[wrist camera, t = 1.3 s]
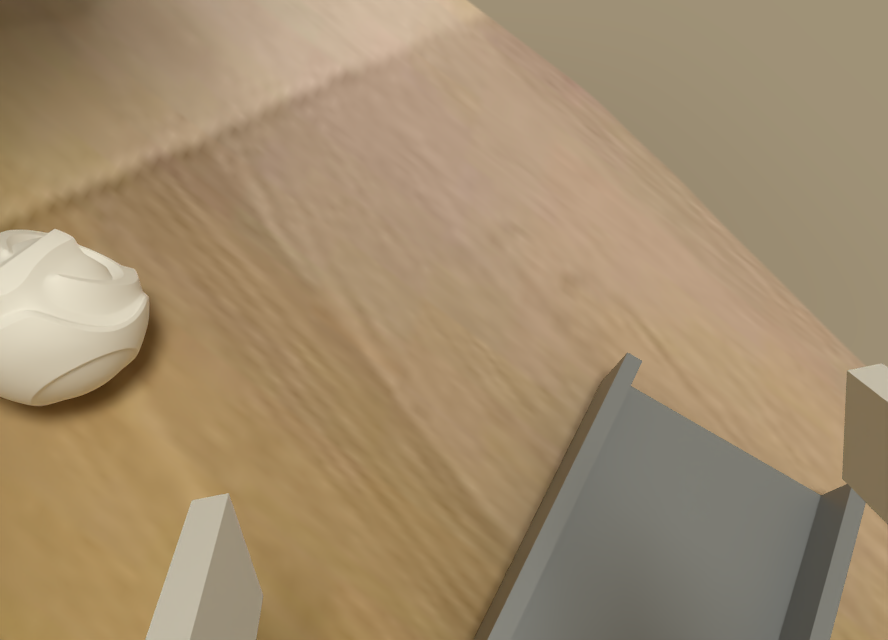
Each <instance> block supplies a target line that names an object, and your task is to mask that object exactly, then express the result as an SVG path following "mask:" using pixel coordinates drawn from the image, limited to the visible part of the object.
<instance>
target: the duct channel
mask: <svg viewBox="0 0 888 640" xmlns="http://www.w3.org/2000/svg"><path fill="white" fill-rule="evenodd" d="M641 363H642V361H641V360H640V359H638V358H636V357H634V356H633V355H631V354H629V353H627V354H626V355H625V356H624V357H623V358H622V359H621V360H620V361H619V363H618V364H617V365H616V366H615V367H614V368H613V369H612V370H611V372H610V373H609V374H608V375H607V376H606V377H605V378H604V379H603V381H602V382H601V384H600V386H599V388H598V390H597V392H596V394H595V396H594V398H593V400H592V402H591V404H590V406H589V408H588V410H587V412H586V414H585V416H584V418H583V420H582V422H581V424H580V426H579V428H578V430H577V432H576V434H575V436H574V438H573V440H572V443H571V445H570V447H569V449H568V451H567V453H566V455H565V457H564V459H563V461H562V463H561V465H560V467H559V469H558V471H557V473H556V475H555V477H554V479H553V481H552V483H551V485H550V487H549V489H548V491H547V493H546V495H545V497H544V499H543V501H542V503H541V505H540V507H539V509H538V511H537V513H536V515H535V517H534V519H533V521H532V523H531V525H530V527H529V529H528V531H527V533H526V535H525V537H524V539H523V541H522V543H521V545H520V547H519V549H518V551H517V553H516V555H515V557H514V559H513V561H512V563H511V565H510V567H509V569H508V571H507V573H506V575H505V577H504V579H503V581H502V583H501V585H500V587H499V589H498V591H497V593H496V596H495V598H494V600H493V602H492V604H491V606H490V608H489V610H488V612H487V614H486V616H485V618H484V620H483V622H482V624H481V626H480V628H479V630H478V632H477V634H476V636H475V638H474V640H830V637H831V633H832V630H833V626H834V622H835V618H836V614H837V610H838V607H839V603H840V599H841V595H842V591H843V587H844V584H845V580H846V576H847V572H848V568H849V565H850V561H851V557H852V553H853V549H854V545H855V542H856V538H857V534H858V530H859V526H860V522H861V519H862V515H863V511H864V507H865V503H866V502H865V501H864V500H863V499H862V498H861V497H860V496H859V495H858V494H857V493H856V492H855V491H854V490H853V489H852V488H851V487H850V486H849V485H848V484H846V485H844V486H842V487H839V488H837V489H835V490H833V491H830V492H828V493H826V494H823V495H819V494H817V493H816V492H814V491H812V490H810V489H809V488H807V487H805V486H804V485H802V484H800V483H798V482H797V481H795V480H793V479H791V478H790V477H788V476H786V475H784V474H783V473H781V472H779V471H777V470H776V469H774V468H772V467H771V466H769V465H767V464H765V463H764V462H762V461H760V460H758V459H757V458H755V457H753V456H751V455H750V454H748V453H746V452H744V451H743V450H741V449H739V448H738V447H736V446H734V445H732V444H731V443H729V442H727V441H725V440H724V439H722V438H720V437H718V436H717V435H715V434H713V433H711V432H710V431H708V430H706V429H705V428H703V427H701V426H699V425H698V424H696V423H694V422H692V421H691V420H689V419H687V418H685V417H684V416H682V415H680V414H679V413H677V412H675V411H673V410H672V409H670V408H668V407H666V406H665V405H663V404H661V403H659V402H658V401H656V400H654V399H652V398H651V397H649V396H647V395H646V394H644V393H642V392H640V391H639V390H637V389H635V388H633V387H632V386H631V384H632V382H633V380H634V378H635V375H636V373H637V371H638V369H639V367H640V365H641Z"/></svg>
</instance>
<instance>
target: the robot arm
mask: <svg viewBox="0 0 888 640" xmlns="http://www.w3.org/2000/svg"><path fill="white" fill-rule="evenodd" d="M842 479H843V480H844V481H845V482H846V483H847V484H848V485H849V486H850V487H851V488H852V489H853V490H854V491H855V492H856V493H857V494H858V495H859V496H860V497H861V498H862V499H863V500H864V501H865V502H866V503H867V504H868V505H869V506H870V507H871V508H872V509H873V510H874V511H875V512H876V513H877V514H878V515H879V516H880V517H881V518H882V519H883V520H884V521H885V522H886V523H887V524H888V367H887V366H885V365H884V364H877V365H872V366H867V367H862V368H857V369H852V370H847V381H846V404H845V426H844V449H843V472H842ZM262 600H263V593H262V590H261V587H260V585H259V582H258V579H257V576H256V573H255V570H254V567H253V564H252V561H251V558H250V555H249V552H248V549H247V546H246V543H245V540H244V537H243V534H242V531H241V528H240V525H239V522H238V519H237V516H236V513H235V510H234V507H233V504H232V501H231V498H230V495H229V493H227V494H222V495H217V496H212V497H207V498H202V499H197V500H192V502H191V505H190V508H189V511H188V514H187V517H186V520H185V523H184V526H183V529H182V532H181V535H180V538H179V541H178V544H177V547H176V550H175V553H174V556H173V559H172V562H171V565H170V568H169V571H168V574H167V577H166V580H165V583H164V586H163V589H162V591H161V594H160V597H159V600H158V603H157V606H156V609H155V612H154V615H153V618H152V621H151V624H150V627H149V630H148V633H147V636H146V639H145V640H256V637H257V631H258V625H259V619H260V613H261V606H262Z"/></svg>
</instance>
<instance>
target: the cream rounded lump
mask: <svg viewBox="0 0 888 640" xmlns="http://www.w3.org/2000/svg"><path fill="white" fill-rule="evenodd" d="M148 320H149V297H148V295H147V294H145V293H144V292H143V290H142V287H141V284H140V280H139V277H138V274H137V272H136V270H135V269H133V268H129V267H125V266H122V265H120V264H118V263H117V262H115V261H113V260H112V259H110V258H108V257H106V256H104V255H102V254H100V253H98V252H96V251H93V250H91V249H89V248H86V247H84V246H81V245H78V244H77V242H76V240H75V238H74V237H72V236H70V235H68V234H66V233H64V232H62V231H59V230H57V229H54V230H52V231H50V232H49V233H46V232H40V231H33V230H8V231H4V232H1V233H0V397H2V398H5V399H8V400H11V401H15V402H18V403H22V404H26V405H32V406H44V405H49V404H53V403H56V402H60V401H63V400H67V399H71V398H75V397H78V396H81V395H84V394H86V393H89V392H91V391H93V390H95V389H97V388H99V387H100V386H102V385H104V384H105V383H107V382H108V381H109V380H111V379H112V378H113V377H114V376H115V375H116V374H118V373H119V372H120V371H121V370H122V369H123V368H124V367H126V366H127V365H128V364H129V363H130V362H132V361H133V360H134V359H135V357H136V356H137V355H138V353H139V350H140V348H141V345H142V343H143V340H144V337H145V333H146V330H147V326H148Z"/></svg>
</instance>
